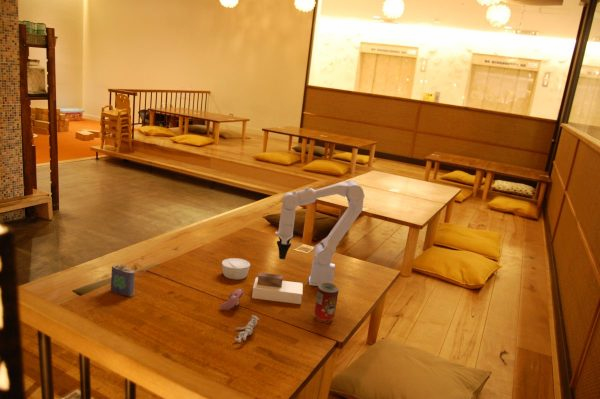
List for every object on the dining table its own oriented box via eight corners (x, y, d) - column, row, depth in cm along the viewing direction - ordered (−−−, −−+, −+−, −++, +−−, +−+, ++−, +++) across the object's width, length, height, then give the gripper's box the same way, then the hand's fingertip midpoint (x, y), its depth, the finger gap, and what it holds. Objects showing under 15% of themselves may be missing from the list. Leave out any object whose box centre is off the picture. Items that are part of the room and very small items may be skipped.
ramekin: (215, 276, 187) (216, 263, 186) (229, 267, 198) (231, 255, 196) (240, 283, 184) (241, 270, 182) (253, 274, 194) (255, 262, 193)
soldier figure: (227, 342, 143) (239, 314, 153) (238, 352, 144) (249, 324, 154) (244, 333, 139) (255, 305, 150) (256, 343, 141) (266, 314, 151)
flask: (135, 295, 162) (136, 266, 160) (129, 298, 160) (130, 268, 157) (114, 288, 166) (115, 259, 163) (107, 291, 163) (108, 262, 160)
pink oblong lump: (229, 316, 160) (240, 301, 158) (218, 308, 160) (228, 293, 158) (238, 304, 169) (248, 290, 168) (227, 296, 170) (238, 282, 168)
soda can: (323, 325, 159) (329, 291, 156) (309, 316, 164) (314, 283, 161) (338, 320, 164) (343, 287, 161) (323, 312, 169) (328, 280, 166)
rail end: (280, 291, 179) (283, 275, 177) (280, 295, 175) (282, 278, 174) (257, 288, 178) (259, 272, 177) (256, 292, 175) (258, 275, 174)
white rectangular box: (301, 292, 182) (302, 283, 181) (301, 304, 173) (302, 294, 172) (254, 286, 182) (255, 277, 181) (251, 298, 172) (253, 287, 171)
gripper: (277, 216, 193) (273, 248, 197) (275, 226, 179) (271, 260, 182) (294, 219, 194) (290, 250, 197) (294, 229, 179) (289, 262, 183)
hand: (282, 255), depth 190 cm, fingers open, 7 cm apart
